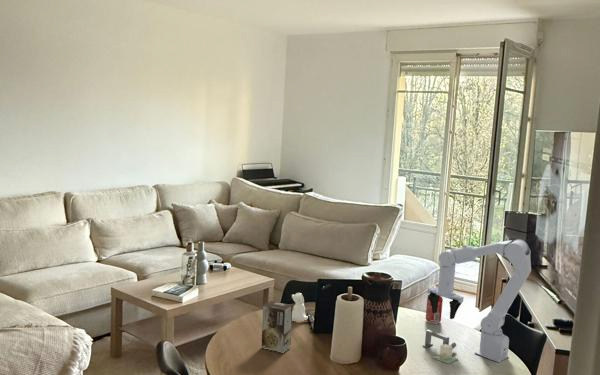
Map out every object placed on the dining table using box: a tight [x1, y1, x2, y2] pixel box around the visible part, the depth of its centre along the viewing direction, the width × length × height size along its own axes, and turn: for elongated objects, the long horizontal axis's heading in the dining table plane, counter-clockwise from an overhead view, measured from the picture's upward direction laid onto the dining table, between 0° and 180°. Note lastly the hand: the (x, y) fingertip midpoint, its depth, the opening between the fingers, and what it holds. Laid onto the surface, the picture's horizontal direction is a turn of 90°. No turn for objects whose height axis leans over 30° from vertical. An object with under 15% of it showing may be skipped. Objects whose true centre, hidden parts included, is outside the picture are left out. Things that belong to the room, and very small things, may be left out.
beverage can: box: [425, 293, 444, 325], centre depth 233 cm, size 6×6×12 cm
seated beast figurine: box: [291, 292, 309, 322], centre depth 226 cm, size 10×9×12 cm
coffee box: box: [261, 300, 293, 353], centre depth 197 cm, size 9×6×16 cm
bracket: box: [422, 329, 450, 349], centre depth 205 cm, size 9×4×6 cm, turn 44°
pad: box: [433, 354, 458, 365], centre depth 197 cm, size 6×6×1 cm
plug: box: [439, 342, 457, 360], centre depth 200 cm, size 4×12×4 cm, turn 146°
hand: (443, 315), depth 212 cm, fingers open, 7 cm apart
